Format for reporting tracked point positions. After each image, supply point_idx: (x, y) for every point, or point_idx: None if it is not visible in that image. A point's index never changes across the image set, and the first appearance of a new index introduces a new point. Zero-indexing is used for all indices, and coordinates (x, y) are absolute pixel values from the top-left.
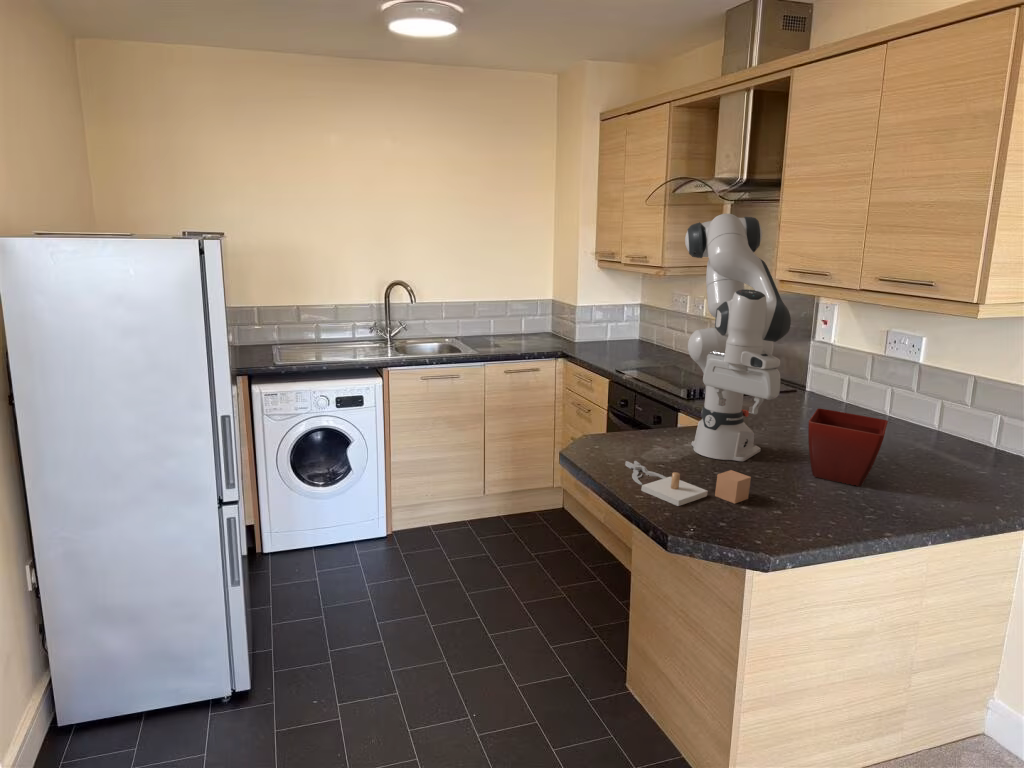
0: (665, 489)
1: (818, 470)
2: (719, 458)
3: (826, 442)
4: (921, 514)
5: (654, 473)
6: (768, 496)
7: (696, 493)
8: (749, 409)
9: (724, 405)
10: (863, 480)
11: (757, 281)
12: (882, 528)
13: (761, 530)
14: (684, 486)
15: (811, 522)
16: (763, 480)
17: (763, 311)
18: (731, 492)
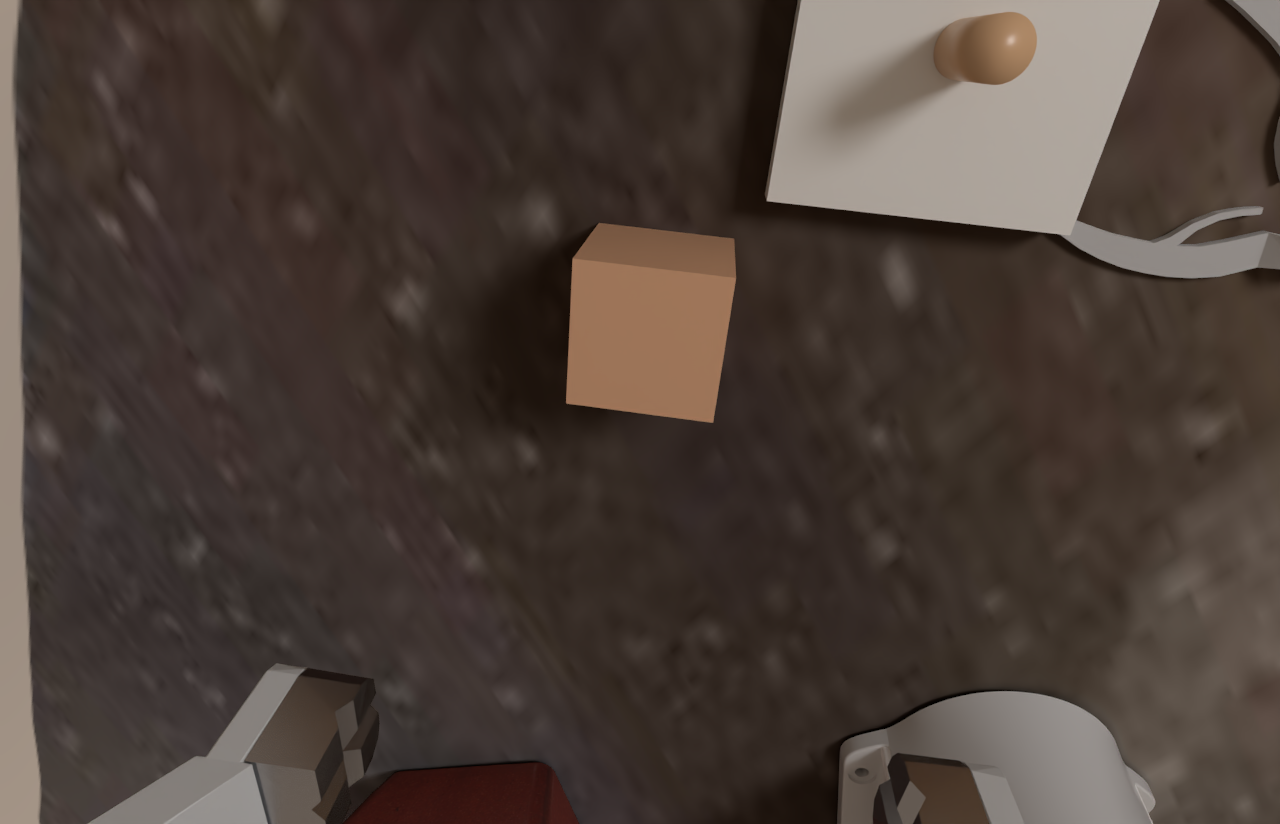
0: None
1: (518, 786)
2: (945, 704)
3: None
4: (138, 683)
5: (1202, 257)
6: (545, 452)
7: (798, 90)
8: (330, 719)
9: (875, 798)
10: (368, 797)
11: None
12: (93, 476)
13: None
14: (917, 141)
15: (249, 309)
16: (665, 609)
17: None
18: (620, 240)
